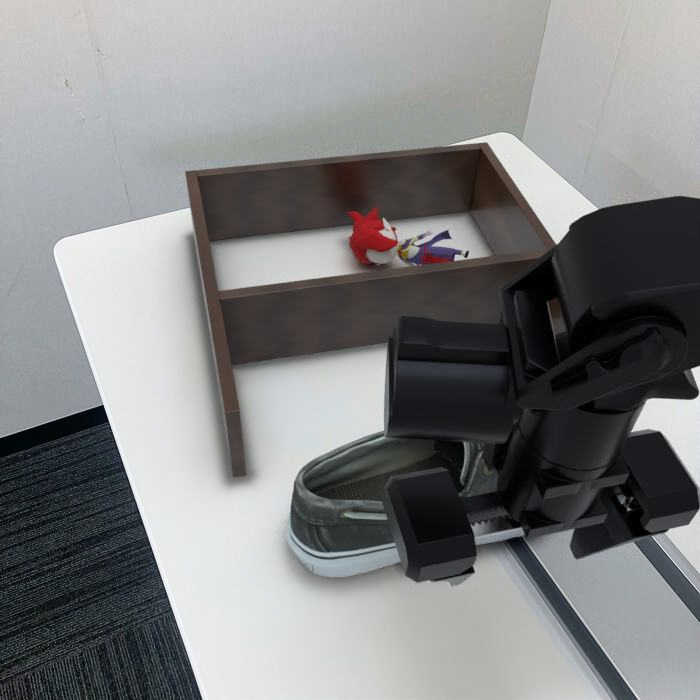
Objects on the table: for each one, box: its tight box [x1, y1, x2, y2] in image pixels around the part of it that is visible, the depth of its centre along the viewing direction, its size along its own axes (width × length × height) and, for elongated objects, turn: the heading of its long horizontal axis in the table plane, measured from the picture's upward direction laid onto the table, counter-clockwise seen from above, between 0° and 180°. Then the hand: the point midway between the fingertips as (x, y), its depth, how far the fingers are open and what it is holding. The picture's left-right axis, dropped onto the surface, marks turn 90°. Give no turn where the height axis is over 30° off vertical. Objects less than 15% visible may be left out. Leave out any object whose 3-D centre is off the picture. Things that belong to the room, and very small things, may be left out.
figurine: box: [348, 206, 470, 267], centre depth 85 cm, size 6×8×15 cm
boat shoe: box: [285, 430, 525, 578], centre depth 61 cm, size 10×29×10 cm, turn 116°
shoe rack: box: [184, 141, 565, 478], centre depth 78 cm, size 35×35×9 cm
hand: (514, 565), depth 52 cm, fingers open, 9 cm apart
